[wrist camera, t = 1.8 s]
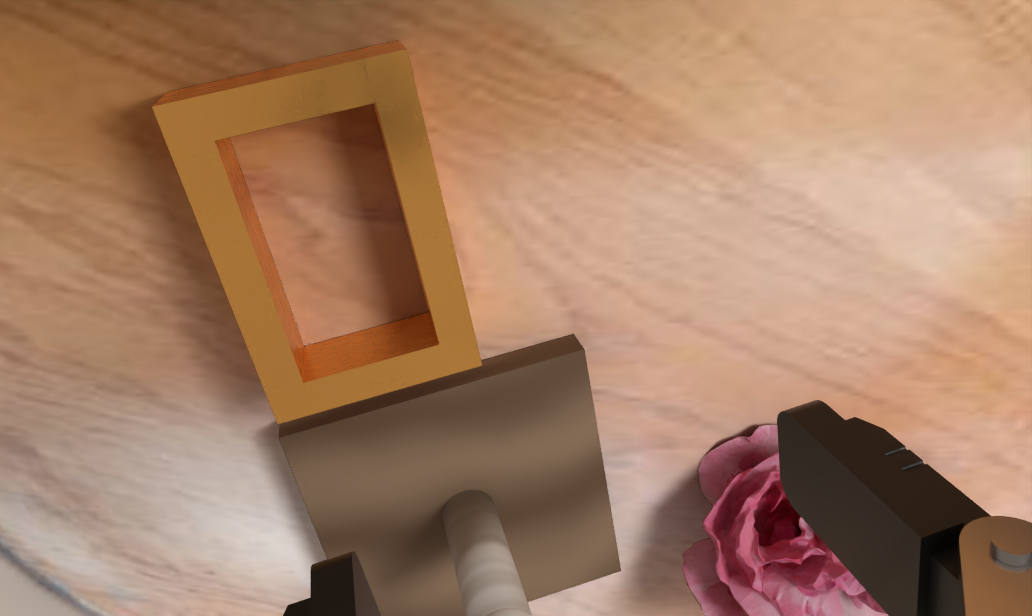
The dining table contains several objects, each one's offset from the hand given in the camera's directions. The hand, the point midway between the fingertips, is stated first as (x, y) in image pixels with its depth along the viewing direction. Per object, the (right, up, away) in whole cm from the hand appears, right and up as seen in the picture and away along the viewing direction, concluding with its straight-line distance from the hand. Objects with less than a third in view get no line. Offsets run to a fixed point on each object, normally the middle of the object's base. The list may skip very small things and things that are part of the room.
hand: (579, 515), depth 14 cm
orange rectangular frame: (-8, +7, +15) cm, 19 cm away
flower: (+12, -6, +27) cm, 30 cm away
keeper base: (-4, -5, +22) cm, 23 cm away
